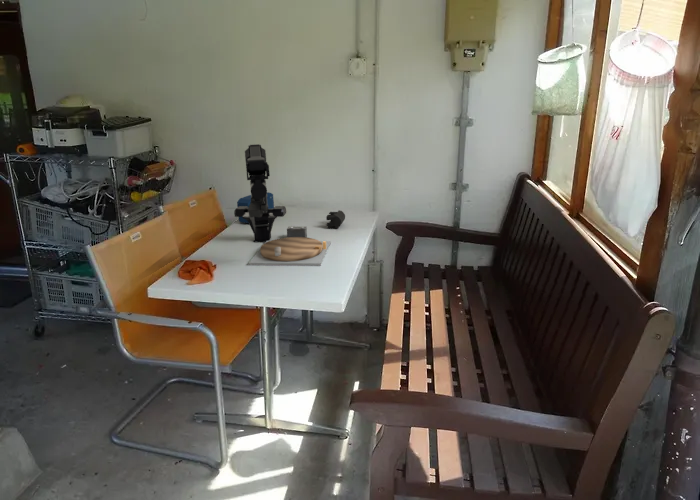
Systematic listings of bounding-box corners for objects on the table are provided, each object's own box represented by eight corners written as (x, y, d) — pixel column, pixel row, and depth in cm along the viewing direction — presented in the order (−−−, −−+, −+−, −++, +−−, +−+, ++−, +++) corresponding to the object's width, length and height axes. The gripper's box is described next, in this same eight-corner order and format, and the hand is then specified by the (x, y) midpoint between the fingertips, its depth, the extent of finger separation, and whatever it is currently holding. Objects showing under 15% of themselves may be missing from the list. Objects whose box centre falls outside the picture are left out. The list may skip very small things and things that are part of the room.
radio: (262, 213, 285) (259, 175, 278) (276, 215, 281) (273, 176, 274) (236, 223, 267) (232, 183, 261) (251, 225, 263) (247, 184, 257)
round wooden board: (279, 239, 236) (278, 228, 234) (332, 244, 227) (331, 232, 226) (248, 257, 214) (247, 245, 212) (306, 264, 205) (305, 251, 203)
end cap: (341, 229, 252) (341, 215, 250) (326, 229, 253) (326, 215, 251) (345, 223, 261) (345, 210, 259) (331, 223, 262) (330, 210, 260)
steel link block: (287, 239, 239) (286, 228, 238) (289, 237, 243) (288, 225, 242) (305, 240, 239) (304, 228, 237) (307, 237, 242) (306, 225, 241)
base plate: (248, 265, 209) (247, 255, 208) (266, 242, 236) (266, 234, 234) (320, 265, 206) (320, 255, 205) (330, 243, 233) (330, 234, 231)
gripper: (227, 198, 196) (232, 239, 201) (278, 197, 194) (281, 239, 199) (236, 191, 206) (240, 231, 211) (285, 191, 204) (287, 231, 209)
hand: (262, 233), depth 207 cm, fingers open, 6 cm apart
